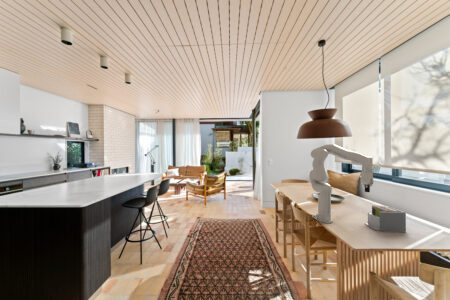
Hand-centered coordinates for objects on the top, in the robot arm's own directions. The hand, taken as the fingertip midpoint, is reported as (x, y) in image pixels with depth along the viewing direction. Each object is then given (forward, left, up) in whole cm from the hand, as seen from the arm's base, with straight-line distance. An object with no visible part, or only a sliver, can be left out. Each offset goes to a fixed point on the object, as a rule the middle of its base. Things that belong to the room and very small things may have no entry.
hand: (367, 192), depth 165 cm
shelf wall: (0, -20, -23) cm, 30 cm away
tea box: (+1, -19, -23) cm, 30 cm away
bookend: (-9, -20, -23) cm, 31 cm away
